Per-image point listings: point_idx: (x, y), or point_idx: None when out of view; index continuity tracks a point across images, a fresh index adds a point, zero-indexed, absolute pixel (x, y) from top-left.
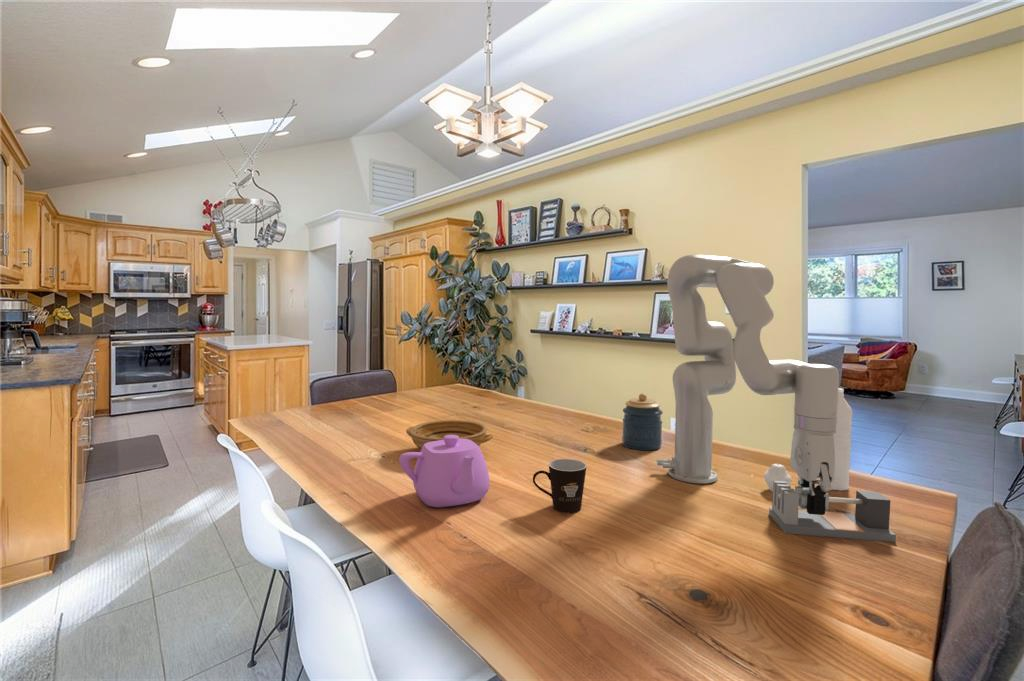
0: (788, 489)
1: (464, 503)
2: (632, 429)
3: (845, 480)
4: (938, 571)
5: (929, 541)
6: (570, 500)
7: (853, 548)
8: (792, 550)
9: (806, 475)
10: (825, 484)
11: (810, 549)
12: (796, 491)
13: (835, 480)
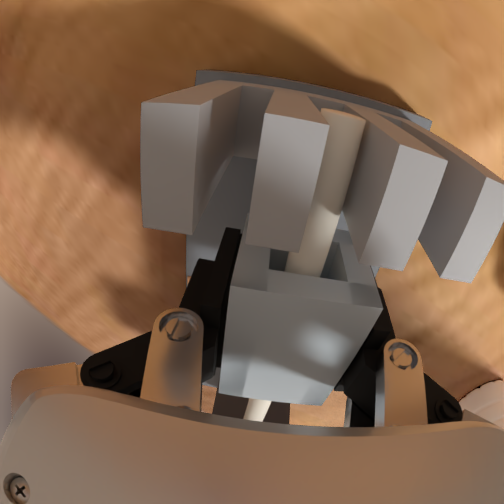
0: (270, 190)
1: None
2: None
3: None
4: (82, 341)
5: (212, 406)
6: None
7: (125, 259)
8: (67, 50)
9: (46, 437)
10: (13, 404)
11: (82, 116)
12: (351, 281)
13: (474, 412)
